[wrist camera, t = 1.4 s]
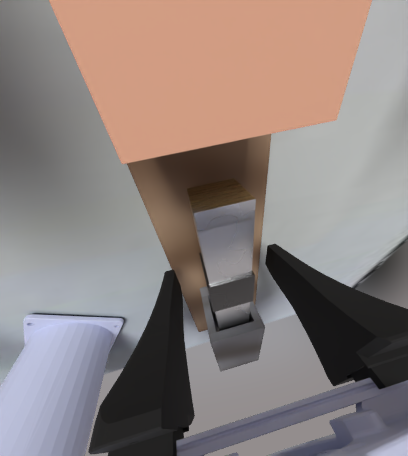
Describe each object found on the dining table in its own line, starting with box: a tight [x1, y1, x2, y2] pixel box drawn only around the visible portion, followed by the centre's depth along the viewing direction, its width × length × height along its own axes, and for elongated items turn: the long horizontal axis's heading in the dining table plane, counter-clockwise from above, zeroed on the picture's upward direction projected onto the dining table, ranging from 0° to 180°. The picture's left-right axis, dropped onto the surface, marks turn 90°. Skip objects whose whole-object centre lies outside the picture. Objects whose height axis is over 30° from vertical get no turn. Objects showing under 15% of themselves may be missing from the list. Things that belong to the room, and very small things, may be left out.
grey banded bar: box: [187, 178, 256, 331], centre depth 13 cm, size 19×3×3 cm, turn 9°
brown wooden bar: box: [127, 134, 271, 371], centre depth 12 cm, size 28×8×5 cm, turn 9°
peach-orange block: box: [49, 0, 372, 164], centre depth 5 cm, size 4×5×5 cm
